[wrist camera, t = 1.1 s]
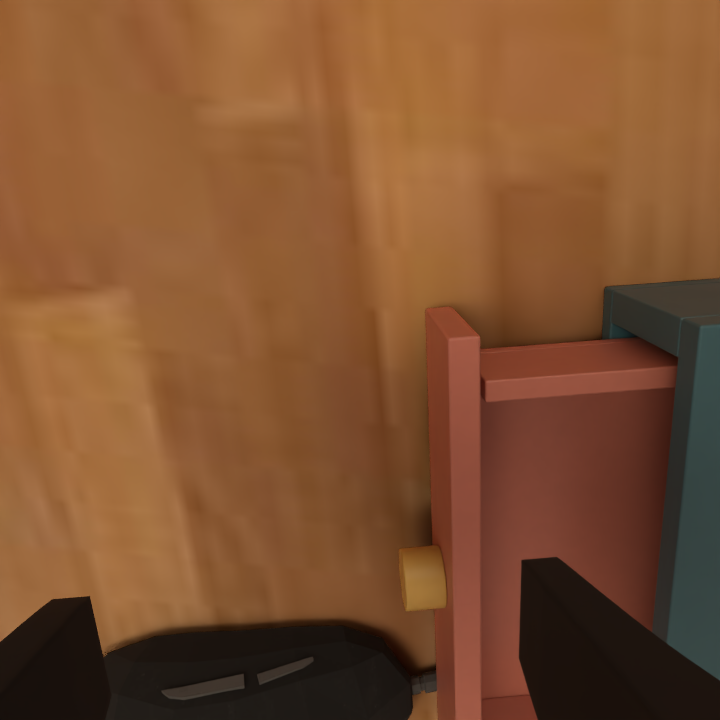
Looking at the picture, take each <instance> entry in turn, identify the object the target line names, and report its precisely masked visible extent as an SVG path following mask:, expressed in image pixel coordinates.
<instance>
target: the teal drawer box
mask: <svg viewBox="0 0 720 720" xmlns="http://www.w3.org/2000/svg"><path fill="white" fill-rule="evenodd" d="M633 337H640V338H642V339H644V340H646V341H648V342H650V343H652V344H654V345H655V346H657V347H659V348H661V349H663V350H665V351H667V352H669V353H671V354H673V355H675V356H677V357H678V366H677V377H676V387H675V397H674V408H673V418H672V429H671V439H670V449H669V460H668V470H667V480H666V491H665V501H664V512H663V522H662V532H661V543H660V553H659V563H658V574H657V584H656V595H655V605H654V615H653V626H652V633H654V634H655V635H656V636H658V637H659V638H660V639H662V640H663V641H664V642H666V643H667V644H668V645H670V646H671V647H673V648H674V649H675V650H677V651H678V652H679V653H681V654H682V655H684V656H685V657H686V658H688V659H689V660H691V661H692V662H694V663H695V664H697V665H698V666H699V667H701V668H702V669H704V670H705V671H707V672H708V673H710V674H711V675H712V676H714V677H715V678H717V679H718V680H720V278H718V279H705V280H691V281H677V282H664V283H650V284H636V285H623V286H609V287H605V292H604V309H603V327H602V340H607V339H620V338H633Z"/></svg>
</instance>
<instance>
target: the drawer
mask: <svg viewBox="0 0 720 720" xmlns="http://www.w3.org/2000/svg"><path fill="white" fill-rule="evenodd" d="M425 317H426V350H427V382H428V415H429V448H430V480H431V513H432V546H421V547H409V548H400V549H399V572H400V582H401V591H402V598H403V604H404V608H405V610H406V611H407V612H408V611H418V610H429V609H434V610H435V643H436V675H437V708H438V720H538V719H537V716H536V713H535V710H534V706H533V703H532V700H531V697H530V694H529V691H528V687H527V684H526V681H525V677H524V674H523V671H522V667H521V664H520V661H519V631H520V595H521V560H525V559H537V558H549V557H558V558H559V559H561V560H562V561H563V562H564V563H566V564H567V565H568V566H569V567H571V568H572V569H573V570H574V571H576V572H577V573H578V574H579V575H581V576H582V577H583V578H584V579H585V580H587V581H588V582H589V583H590V584H592V585H593V586H594V587H595V588H596V589H598V590H599V591H600V592H601V593H603V594H604V595H605V596H606V597H608V598H609V599H610V600H611V601H613V602H614V603H615V604H616V605H618V606H619V607H620V608H621V609H623V610H624V611H625V612H626V613H628V614H629V615H630V616H632V617H633V618H634V619H635V620H637V621H638V622H639V623H641V624H642V625H643V626H644V627H646V628H647V629H648V630H650V631H651V632H652V626H653V615H654V605H655V595H656V584H657V574H658V563H659V553H660V543H661V532H662V522H663V512H664V501H665V491H666V480H667V470H668V460H669V449H670V439H671V429H672V418H673V408H674V397H675V387H676V377H677V366H678V357H677V356H675V355H673V354H671V353H669V352H667V351H665V350H663V349H661V348H659V347H657V346H655V345H654V344H652V343H650V342H648V341H646V340H644V339H642V338H640V337H633V338H620V339H607V340H594V341H580V342H567V343H554V344H541V345H528V346H515V347H502V348H489V349H480V336H479V335H478V334H477V333H476V332H475V331H474V330H473V329H472V328H471V327H470V326H469V325H468V324H467V322H466V321H465V320H464V319H463V318H462V317H461V316H460V315H459V314H458V313H457V312H456V311H455V310H454V309H453V308H452V307H438V308H427V309H426V311H425Z"/></svg>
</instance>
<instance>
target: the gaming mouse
mask: <svg viewBox="0 0 720 720" xmlns="http://www.w3.org/2000/svg"><path fill="white" fill-rule="evenodd" d="M103 659H104V663H105V668H106V672H107V677H108V682H109V686H110V691H111V699H110V703H109V707H108V711H107V715H106V719H105V720H408V718H409V716H410V715H411V713H412V709H413V701H412V695H414V694H419V693H421V691H423V690H425V692H426V693H429V692H434V691H437V675H436V671H431V672H425V673H422V676H421V677H418V675H414V676H409V674H408V673H407V672H406V670H405V669H404V667H403V666H402V665H401V663H400V662H399V660H398V659H397V658H396V656H395V655H394V653H393V652H392V651H391V649H390V648H389V647H388V645H387V644H386V642H385V641H384V640H383V638H380V637H377V636H374V635H371V634H368V633H364V632H361V631H358V630H355V629H351V628H348V627H345V626H311V627H285V628H271V629H257V630H243V631H219V632H195V633H185V634H176V635H166V636H157V637H153V638H150V639H147V640H144V641H141V642H139V643H136V644H133V645H130V646H127V647H124V648H121V649H118V650H116V651H113V652H110V653H109V654H107V655H106V656H105V657H103Z"/></svg>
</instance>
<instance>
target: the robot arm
mask: <svg viewBox="0 0 720 720" xmlns="http://www.w3.org/2000/svg"><path fill="white" fill-rule="evenodd" d="M519 661H520V664H521V667H522V671H523V674H524V677H525V681H526V684H527V687H528V691H529V694H530V697H531V700H532V703H533V706H534V710H535V713H536V716H537V719H538V720H720V680H718V679H717V678H715V677H714V676H712V675H711V674H710V673H708V672H707V671H705V670H704V669H702V668H701V667H699V666H698V665H697V664H695V663H694V662H692V661H691V660H689V659H688V658H686V657H685V656H684V655H682V654H681V653H679V652H678V651H677V650H675V649H674V648H673V647H671V646H670V645H668V644H667V643H666V642H664V641H663V640H662V639H660V638H659V637H658V636H656V635H655V634H654V633H652V632H651V631H650V630H648V629H647V628H646V627H644V626H643V625H642V624H641V623H639V622H638V621H637V620H635V619H634V618H633V617H632V616H630V615H629V614H628V613H626V612H625V611H624V610H623V609H621V608H620V607H619V606H618V605H616V604H615V603H614V602H613V601H611V600H610V599H609V598H608V597H606V596H605V595H604V594H603V593H601V592H600V591H599V590H598V589H596V588H595V587H594V586H593V585H592V584H590V583H589V582H588V581H587V580H585V579H584V578H583V577H582V576H581V575H579V574H578V573H577V572H576V571H574V570H573V569H572V568H571V567H569V566H568V565H567V564H566V563H564V562H563V561H562V560H561V559H559V558H558V557H549V558H537V559H525V560H521V595H520V631H519ZM110 699H111V691H110V686H109V682H108V677H107V672H106V668H105V663H104V659H103V654H102V650H101V645H100V641H99V636H98V632H97V627H96V623H95V618H94V613H93V609H92V604H91V600H90V596H87V597H75V598H63V599H52V600H51V601H50V602H48V603H47V604H46V605H44V606H43V607H42V608H40V609H39V610H38V611H37V612H35V613H34V614H33V615H32V616H31V617H29V618H28V619H27V620H26V621H25V622H23V623H22V624H21V625H20V626H19V627H17V628H16V629H15V630H14V631H13V632H12V633H10V634H9V635H8V636H7V637H6V638H4V639H3V640H2V641H1V642H0V720H105V719H106V715H107V711H108V707H109V703H110Z"/></svg>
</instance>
